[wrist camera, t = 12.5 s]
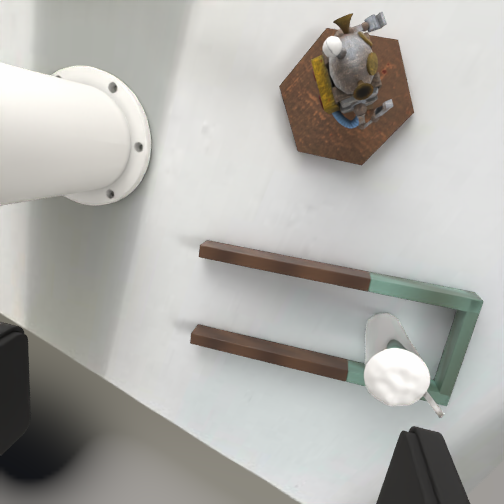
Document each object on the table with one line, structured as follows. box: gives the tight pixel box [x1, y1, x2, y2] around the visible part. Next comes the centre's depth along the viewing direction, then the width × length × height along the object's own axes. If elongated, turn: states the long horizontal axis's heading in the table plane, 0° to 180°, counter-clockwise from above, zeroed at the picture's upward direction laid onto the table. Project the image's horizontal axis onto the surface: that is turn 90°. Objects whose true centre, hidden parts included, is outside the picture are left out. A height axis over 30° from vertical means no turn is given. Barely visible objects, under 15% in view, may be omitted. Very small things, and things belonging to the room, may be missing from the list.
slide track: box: [190, 240, 483, 406], centre depth 35 cm, size 24×10×2 cm, turn 82°
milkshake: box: [364, 313, 444, 418], centre depth 30 cm, size 4×5×10 cm
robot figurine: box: [279, 12, 414, 165], centre depth 25 cm, size 11×9×12 cm
